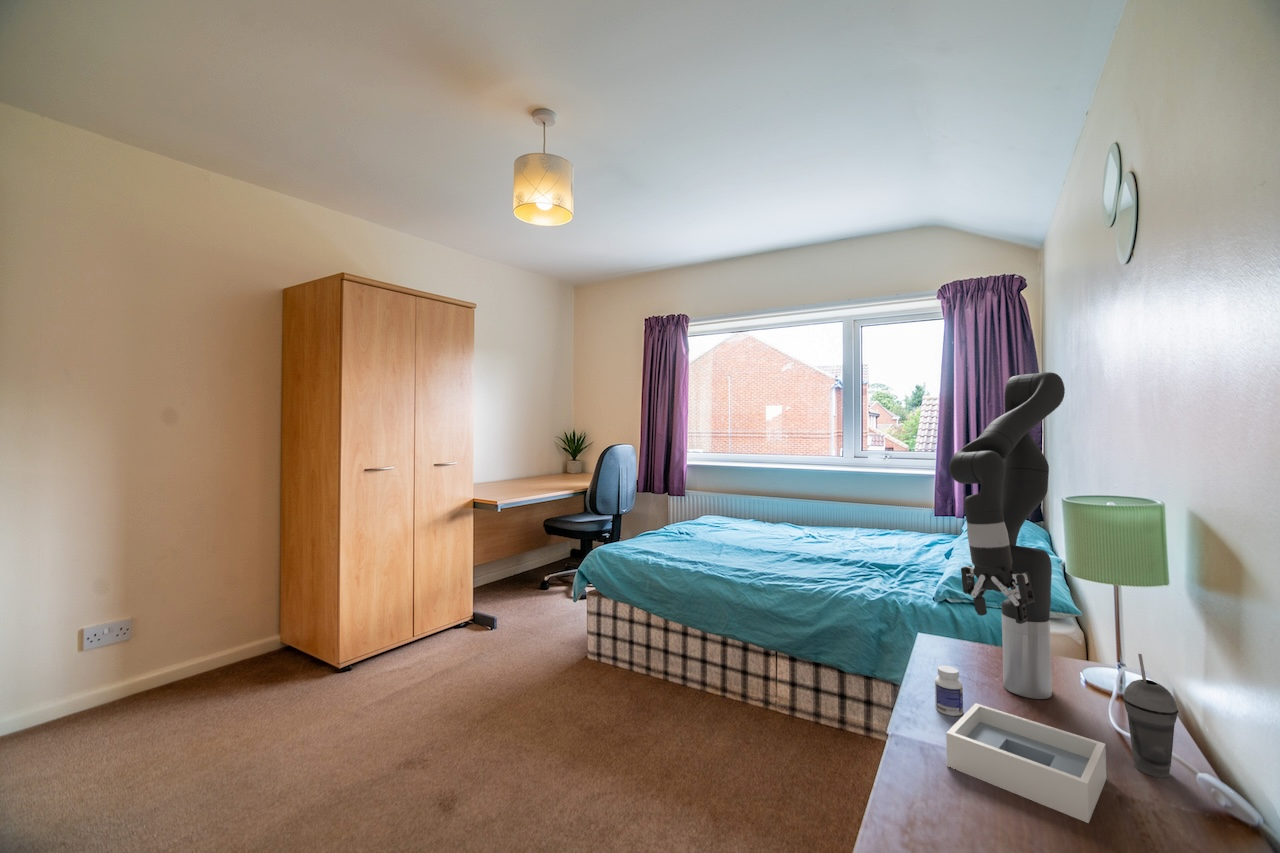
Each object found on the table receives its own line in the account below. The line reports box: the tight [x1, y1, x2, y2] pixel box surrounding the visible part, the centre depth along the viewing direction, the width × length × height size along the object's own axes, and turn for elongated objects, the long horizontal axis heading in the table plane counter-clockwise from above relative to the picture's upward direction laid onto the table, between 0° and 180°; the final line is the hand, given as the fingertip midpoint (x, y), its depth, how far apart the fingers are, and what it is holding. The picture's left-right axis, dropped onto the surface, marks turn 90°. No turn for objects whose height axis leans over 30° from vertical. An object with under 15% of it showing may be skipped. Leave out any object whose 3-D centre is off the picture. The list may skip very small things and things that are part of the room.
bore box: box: [945, 702, 1107, 824], centre depth 97 cm, size 16×20×6 cm
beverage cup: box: [1122, 653, 1179, 779], centre depth 97 cm, size 7×7×20 cm
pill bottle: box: [934, 665, 964, 717], centre depth 119 cm, size 5×5×9 cm
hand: (1001, 618), depth 118 cm, fingers open, 8 cm apart
